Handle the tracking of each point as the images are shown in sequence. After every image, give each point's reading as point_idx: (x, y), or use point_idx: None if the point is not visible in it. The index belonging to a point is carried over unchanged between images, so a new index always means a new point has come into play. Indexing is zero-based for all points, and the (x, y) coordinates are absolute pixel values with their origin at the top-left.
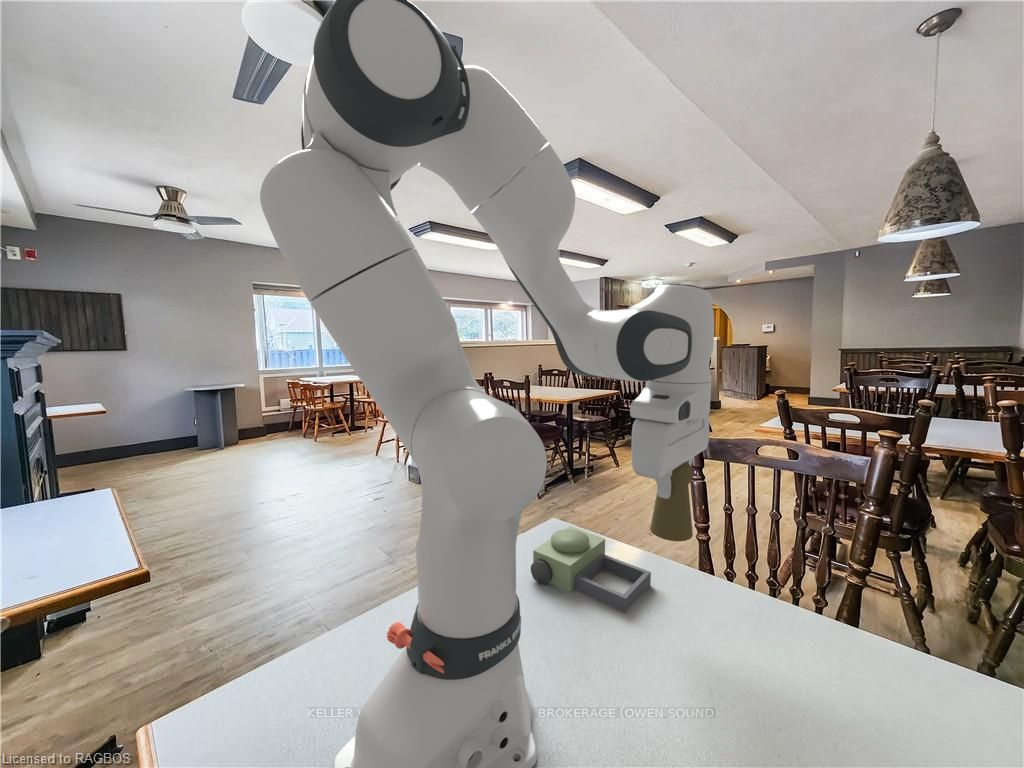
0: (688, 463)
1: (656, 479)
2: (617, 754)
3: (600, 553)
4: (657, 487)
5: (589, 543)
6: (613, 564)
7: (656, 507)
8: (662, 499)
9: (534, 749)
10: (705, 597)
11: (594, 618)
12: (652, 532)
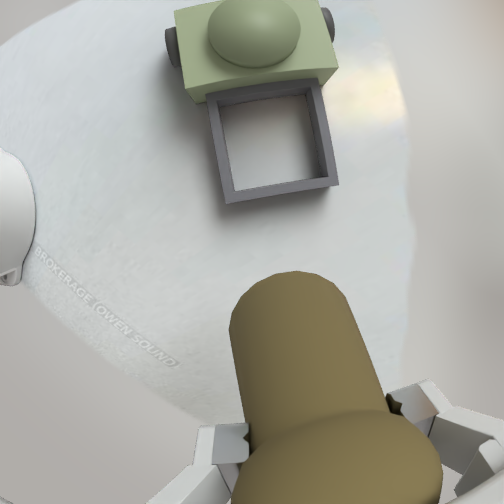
0: (456, 488)
1: (164, 493)
2: (69, 324)
3: (311, 77)
4: (194, 452)
5: (293, 54)
6: (313, 110)
7: (247, 353)
8: (243, 406)
9: (13, 283)
10: (366, 265)
11: (176, 177)
12: (238, 302)
